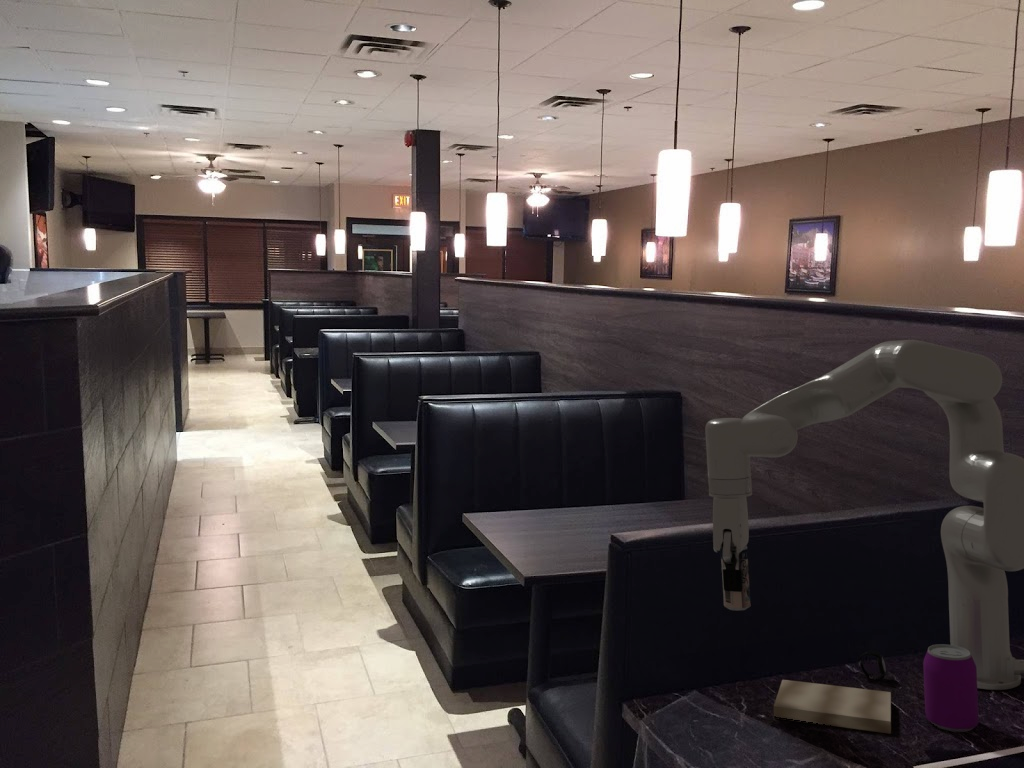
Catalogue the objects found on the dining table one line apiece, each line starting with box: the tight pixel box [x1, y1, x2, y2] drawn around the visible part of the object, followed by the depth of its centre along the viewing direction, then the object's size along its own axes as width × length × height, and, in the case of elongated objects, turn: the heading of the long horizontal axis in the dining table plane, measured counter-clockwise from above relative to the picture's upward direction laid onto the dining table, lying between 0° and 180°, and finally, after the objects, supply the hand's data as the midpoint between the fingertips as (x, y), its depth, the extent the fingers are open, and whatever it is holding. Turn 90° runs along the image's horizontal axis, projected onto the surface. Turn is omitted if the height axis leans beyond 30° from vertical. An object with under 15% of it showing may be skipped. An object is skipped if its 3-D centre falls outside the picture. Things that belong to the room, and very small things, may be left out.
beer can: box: [720, 542, 752, 612], centre depth 146 cm, size 5×5×12 cm
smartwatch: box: [857, 650, 888, 680], centre depth 151 cm, size 4×5×5 cm
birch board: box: [773, 679, 892, 735], centre depth 138 cm, size 18×12×2 cm, turn 65°
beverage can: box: [922, 643, 979, 733], centre depth 131 cm, size 8×8×12 cm
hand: (736, 585), depth 146 cm, fingers closed on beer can, 4 cm apart
